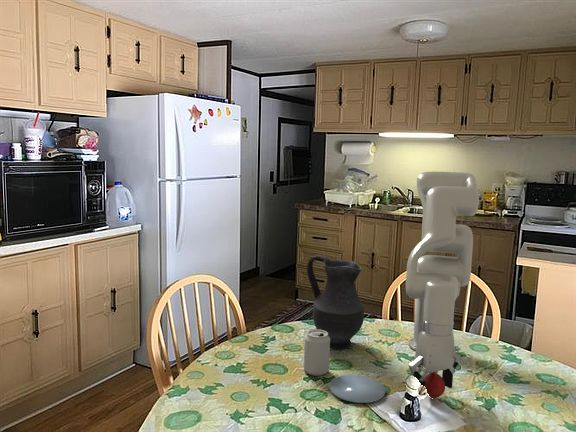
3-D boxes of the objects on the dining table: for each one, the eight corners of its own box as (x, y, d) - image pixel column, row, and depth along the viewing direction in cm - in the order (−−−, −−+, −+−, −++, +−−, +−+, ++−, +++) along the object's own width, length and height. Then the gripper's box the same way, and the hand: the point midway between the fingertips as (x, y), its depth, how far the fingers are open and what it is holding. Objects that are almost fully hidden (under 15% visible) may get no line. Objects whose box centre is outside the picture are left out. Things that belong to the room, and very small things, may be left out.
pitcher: (349, 359, 151) (353, 266, 147) (293, 344, 162) (295, 257, 158) (370, 342, 166) (374, 257, 162) (317, 329, 176) (320, 249, 173)
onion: (432, 406, 124) (434, 376, 123) (416, 396, 129) (418, 367, 128) (448, 401, 127) (450, 372, 126) (433, 391, 132) (434, 363, 131)
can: (327, 378, 138) (328, 338, 136) (301, 375, 139) (302, 335, 138) (330, 367, 145) (331, 329, 144) (305, 364, 147) (306, 326, 145)
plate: (362, 374, 141) (363, 370, 141) (396, 397, 128) (396, 393, 128) (319, 384, 134) (319, 380, 134) (350, 410, 121) (350, 406, 121)
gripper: (450, 318, 133) (446, 377, 135) (402, 327, 125) (398, 390, 127) (472, 327, 126) (467, 389, 128) (422, 337, 118) (418, 403, 120)
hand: (433, 389), depth 127 cm, fingers open, 9 cm apart
